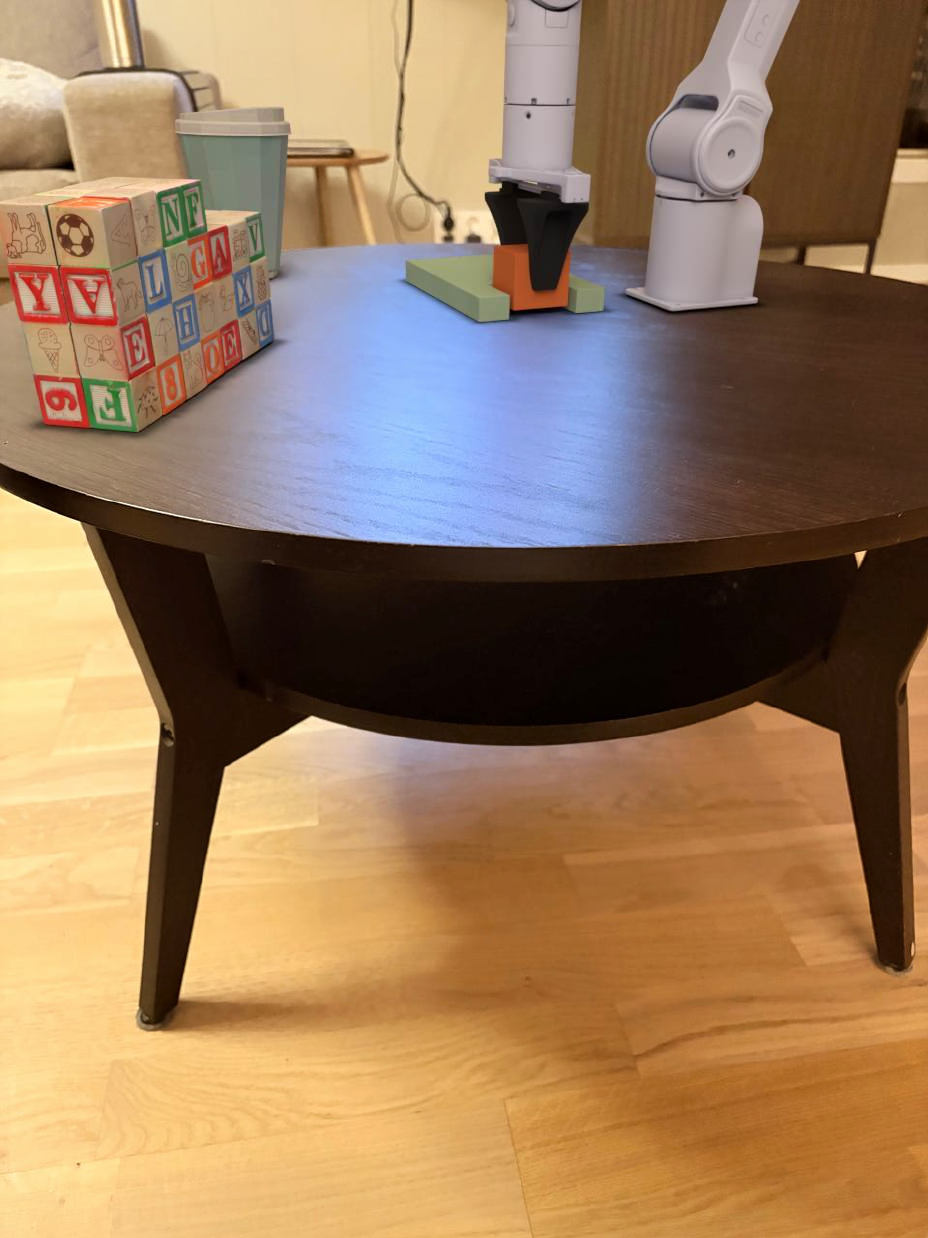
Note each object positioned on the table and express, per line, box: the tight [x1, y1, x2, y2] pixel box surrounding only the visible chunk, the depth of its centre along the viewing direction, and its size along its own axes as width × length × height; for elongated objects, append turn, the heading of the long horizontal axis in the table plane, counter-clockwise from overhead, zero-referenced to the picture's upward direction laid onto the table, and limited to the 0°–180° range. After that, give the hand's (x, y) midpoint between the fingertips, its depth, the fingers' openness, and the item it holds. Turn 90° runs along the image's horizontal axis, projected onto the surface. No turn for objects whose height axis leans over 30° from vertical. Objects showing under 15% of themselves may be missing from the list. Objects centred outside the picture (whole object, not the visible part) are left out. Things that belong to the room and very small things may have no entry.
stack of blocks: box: [0, 176, 275, 433], centre depth 60 cm, size 21×6×12 cm, turn 168°
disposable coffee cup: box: [174, 106, 292, 279], centre depth 90 cm, size 11×11×15 cm
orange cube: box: [493, 244, 572, 311], centre depth 80 cm, size 5×4×4 cm
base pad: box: [405, 253, 606, 323], centre depth 86 cm, size 12×18×2 cm, turn 23°
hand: (530, 283), depth 81 cm, fingers closed on orange cube, 4 cm apart
